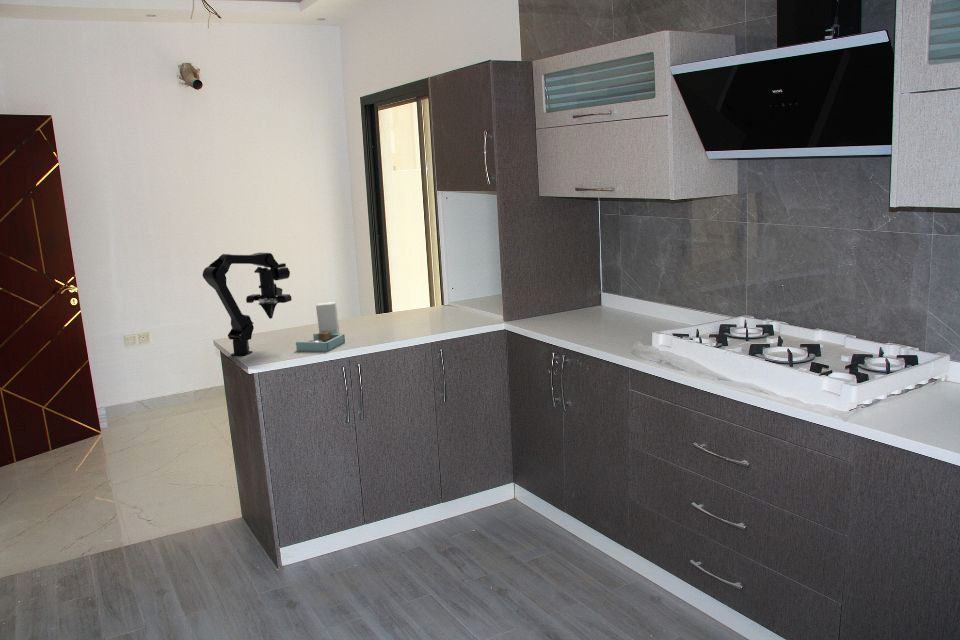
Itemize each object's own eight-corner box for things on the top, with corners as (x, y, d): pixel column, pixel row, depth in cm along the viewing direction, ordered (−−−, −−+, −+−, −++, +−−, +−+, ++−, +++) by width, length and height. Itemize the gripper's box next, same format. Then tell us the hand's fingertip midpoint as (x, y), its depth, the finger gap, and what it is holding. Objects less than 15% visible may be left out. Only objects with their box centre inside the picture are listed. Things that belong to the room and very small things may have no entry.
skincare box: (340, 335, 356) (337, 301, 353) (338, 338, 349) (335, 303, 346) (321, 336, 355) (318, 302, 352) (318, 339, 349) (315, 304, 346)
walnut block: (331, 343, 341) (330, 331, 340) (327, 345, 338) (326, 333, 337) (323, 343, 342) (322, 331, 341) (318, 345, 339) (317, 333, 338)
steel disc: (319, 350, 330) (318, 343, 329) (306, 349, 332) (305, 342, 331) (325, 346, 336) (324, 339, 335) (312, 346, 337) (311, 339, 337)
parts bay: (327, 351, 326) (326, 342, 326) (296, 350, 330) (295, 342, 330) (345, 342, 342) (344, 334, 341) (315, 341, 346) (314, 333, 345)
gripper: (296, 279, 341) (299, 314, 344) (257, 279, 346) (261, 314, 349) (283, 283, 330) (286, 320, 334) (243, 283, 336) (247, 319, 339)
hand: (270, 318), depth 339 cm, fingers closed
